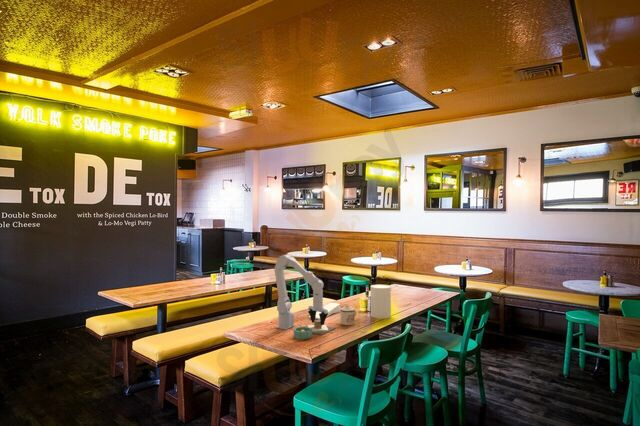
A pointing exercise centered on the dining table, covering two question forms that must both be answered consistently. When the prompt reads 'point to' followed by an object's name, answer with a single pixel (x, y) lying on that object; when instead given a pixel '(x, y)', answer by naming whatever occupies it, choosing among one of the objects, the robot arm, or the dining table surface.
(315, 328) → the cover
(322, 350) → the dining table surface
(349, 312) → the teacup with lid
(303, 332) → the bowl
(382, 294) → the canister
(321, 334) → the mat
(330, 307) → the white wedge ramp
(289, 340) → the dining table surface
